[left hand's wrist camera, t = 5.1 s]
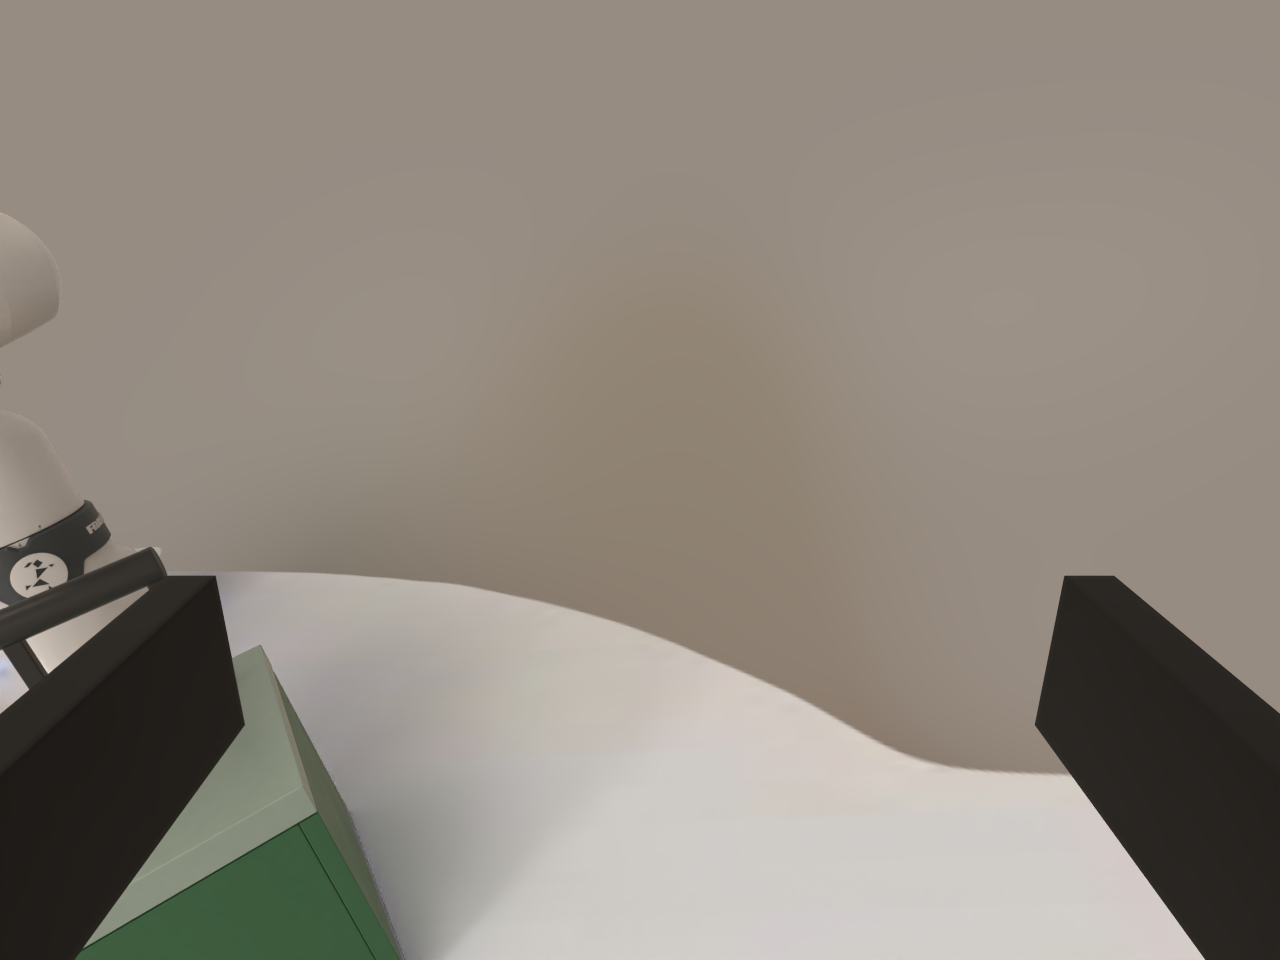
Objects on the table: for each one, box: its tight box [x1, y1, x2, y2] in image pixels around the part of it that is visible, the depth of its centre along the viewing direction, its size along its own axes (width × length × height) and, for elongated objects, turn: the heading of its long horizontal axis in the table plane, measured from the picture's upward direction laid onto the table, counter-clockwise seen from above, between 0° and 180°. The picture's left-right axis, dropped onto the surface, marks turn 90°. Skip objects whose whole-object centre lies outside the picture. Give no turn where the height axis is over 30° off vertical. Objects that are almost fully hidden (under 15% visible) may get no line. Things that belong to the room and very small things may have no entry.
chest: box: [75, 673, 405, 960], centre depth 35 cm, size 14×10×9 cm
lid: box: [0, 547, 317, 948], centre depth 32 cm, size 14×10×9 cm
